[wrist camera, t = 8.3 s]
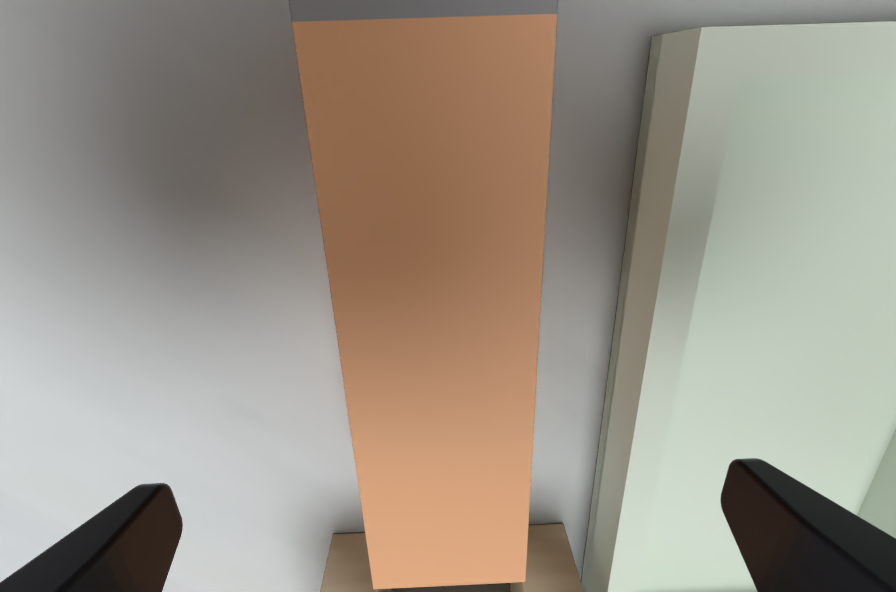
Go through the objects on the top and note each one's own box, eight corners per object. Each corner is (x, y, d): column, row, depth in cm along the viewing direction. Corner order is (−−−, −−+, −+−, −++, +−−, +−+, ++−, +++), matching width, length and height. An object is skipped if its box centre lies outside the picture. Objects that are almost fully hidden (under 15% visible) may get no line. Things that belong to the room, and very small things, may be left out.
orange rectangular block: (509, -10, 11) (562, -68, 7) (500, 448, 17) (525, 581, 13) (341, -5, 11) (280, -59, 7) (389, 453, 17) (373, 589, 13)
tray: (1089, 22, 12) (1234, 10, 10) (829, 589, 21) (875, 648, 19) (651, 36, 12) (701, 27, 10) (578, 601, 21) (595, 663, 19)
